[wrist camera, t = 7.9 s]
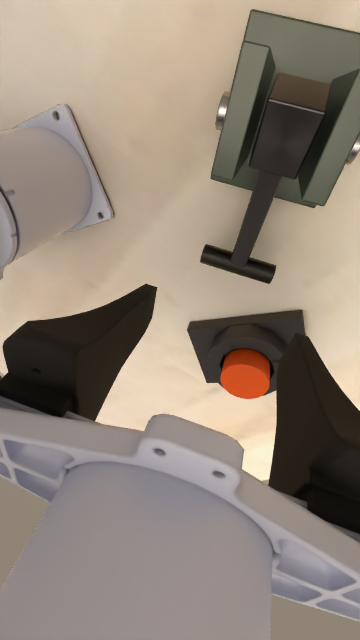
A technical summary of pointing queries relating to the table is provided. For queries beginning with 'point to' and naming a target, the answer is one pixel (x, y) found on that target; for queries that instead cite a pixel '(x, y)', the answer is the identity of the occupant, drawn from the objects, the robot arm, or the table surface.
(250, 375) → the button
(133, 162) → the table surface
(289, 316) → the button box
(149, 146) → the table surface
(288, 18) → the bracket
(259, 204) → the lever
